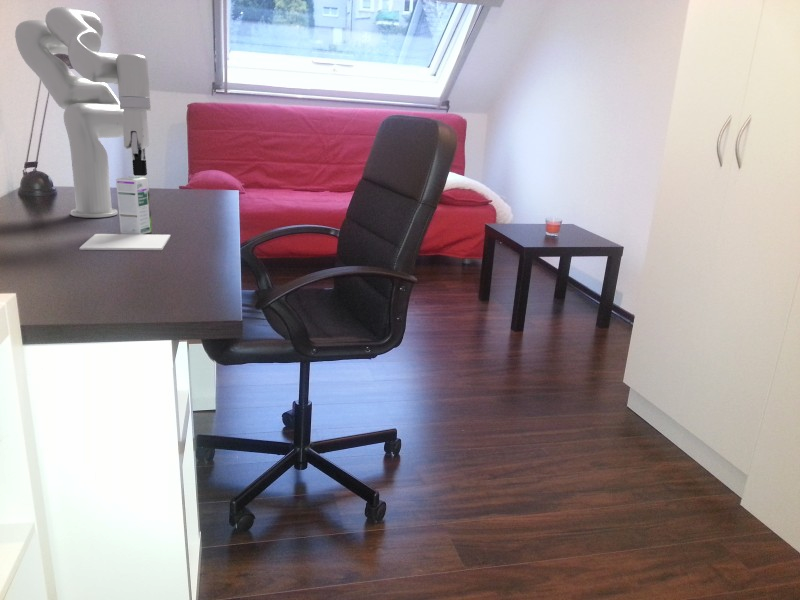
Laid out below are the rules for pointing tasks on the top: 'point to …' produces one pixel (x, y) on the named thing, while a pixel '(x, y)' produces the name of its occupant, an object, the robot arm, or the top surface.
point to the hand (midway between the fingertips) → (140, 175)
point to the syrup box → (134, 205)
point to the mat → (125, 242)
